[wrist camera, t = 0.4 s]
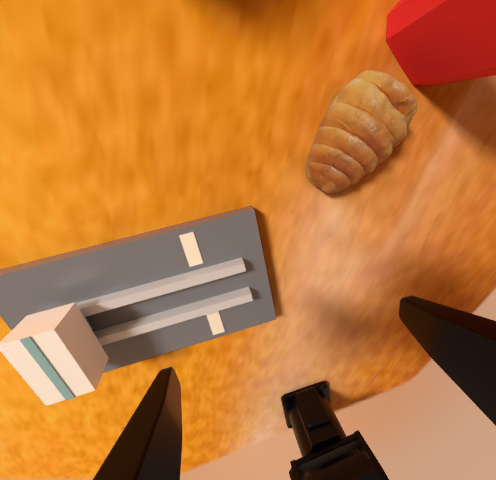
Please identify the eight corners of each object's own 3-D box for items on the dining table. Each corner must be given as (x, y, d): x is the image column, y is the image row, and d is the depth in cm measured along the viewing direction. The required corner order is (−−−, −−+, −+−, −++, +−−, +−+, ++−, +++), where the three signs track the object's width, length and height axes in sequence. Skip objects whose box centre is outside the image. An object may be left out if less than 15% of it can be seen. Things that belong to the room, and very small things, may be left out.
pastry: (336, 204, 24) (360, 214, 20) (284, 164, 21) (301, 168, 18) (401, 118, 22) (440, 112, 18) (352, 64, 20) (385, 46, 16)
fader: (114, 344, 22) (94, 391, 18) (75, 355, 22) (45, 407, 18) (84, 290, 20) (53, 330, 16) (39, 302, 20) (-5, 347, 15)
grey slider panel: (272, 310, 27) (279, 327, 24) (63, 373, 24) (48, 399, 22) (250, 205, 22) (257, 213, 19) (-11, 272, 20) (-41, 290, 17)
